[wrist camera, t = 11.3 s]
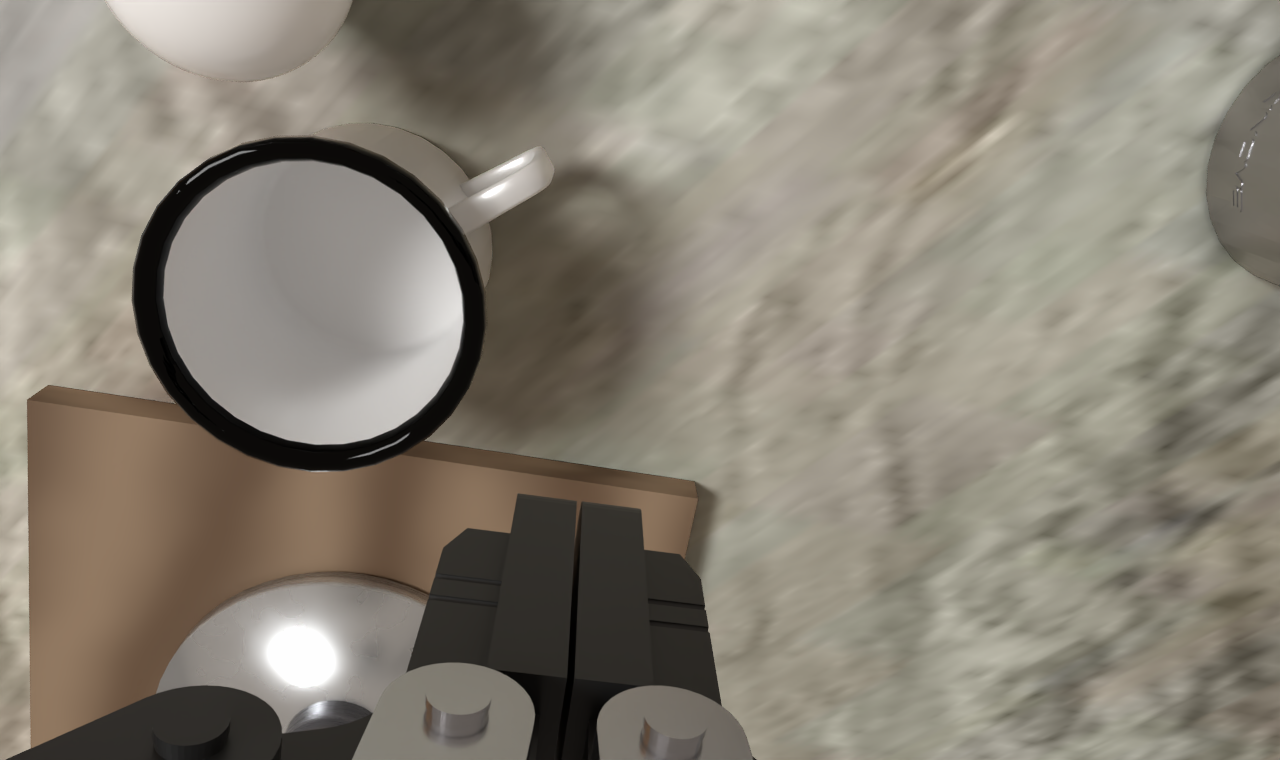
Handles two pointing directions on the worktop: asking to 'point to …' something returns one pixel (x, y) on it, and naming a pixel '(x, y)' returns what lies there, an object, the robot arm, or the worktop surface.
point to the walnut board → (240, 533)
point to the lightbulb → (233, 33)
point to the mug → (324, 291)
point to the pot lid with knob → (305, 646)
